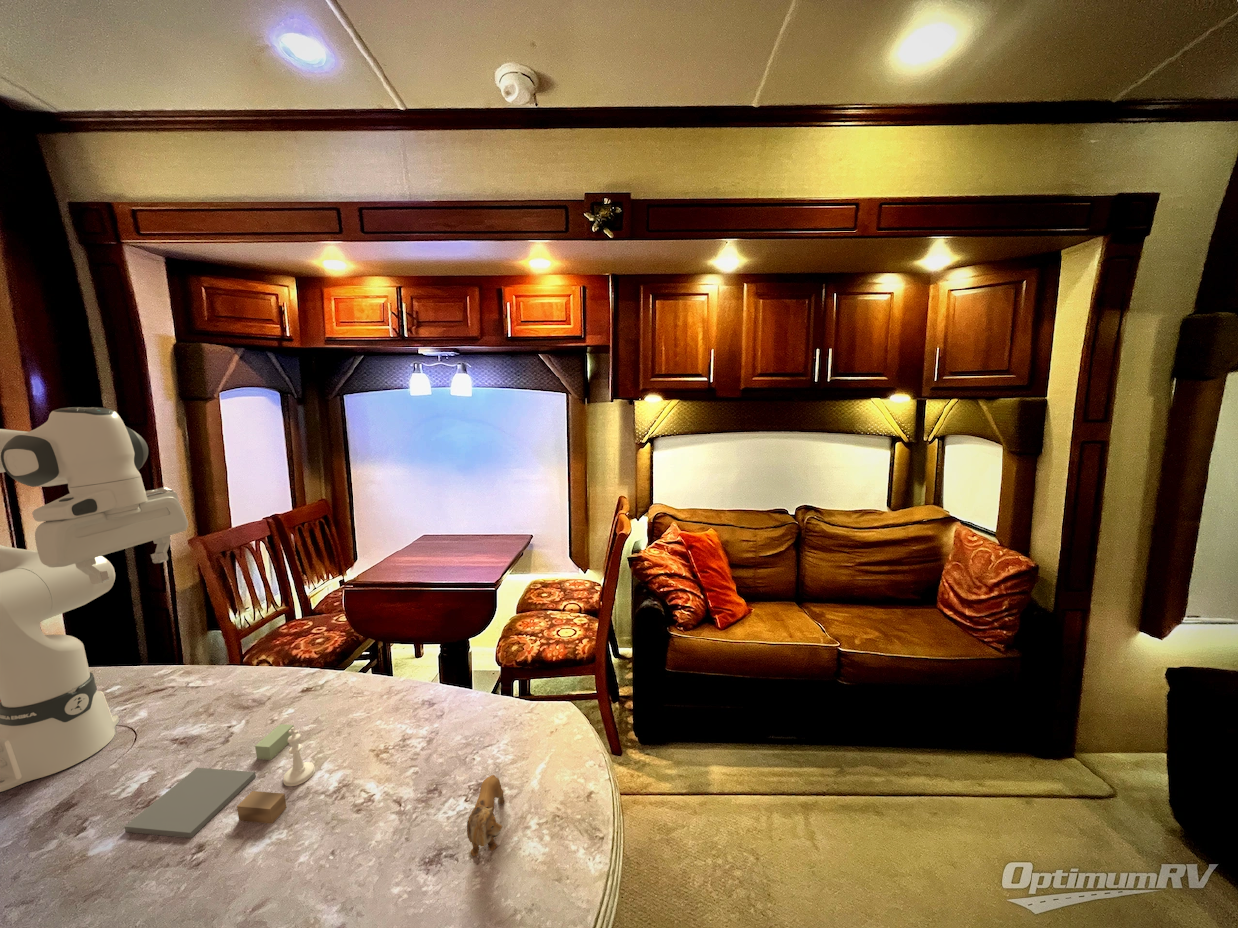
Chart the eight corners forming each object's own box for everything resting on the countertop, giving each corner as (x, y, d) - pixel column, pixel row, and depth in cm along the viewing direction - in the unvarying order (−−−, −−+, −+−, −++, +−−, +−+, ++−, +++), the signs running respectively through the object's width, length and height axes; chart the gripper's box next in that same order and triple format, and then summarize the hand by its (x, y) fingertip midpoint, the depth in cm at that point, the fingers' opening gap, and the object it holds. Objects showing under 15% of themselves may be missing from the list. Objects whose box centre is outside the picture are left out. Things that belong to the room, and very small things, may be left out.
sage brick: (271, 760, 91) (268, 746, 90) (257, 759, 91) (254, 745, 91) (295, 737, 97) (293, 724, 96) (282, 736, 97) (280, 723, 96)
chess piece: (299, 788, 84) (292, 739, 82) (276, 784, 85) (269, 735, 83) (321, 766, 89) (315, 720, 87) (299, 762, 90) (293, 716, 88)
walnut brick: (239, 821, 78) (236, 806, 77) (254, 805, 81) (252, 790, 80) (272, 824, 77) (269, 808, 77) (286, 808, 80) (284, 793, 80)
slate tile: (125, 831, 76) (124, 826, 76) (197, 771, 88) (196, 767, 88) (191, 837, 75) (190, 832, 75) (255, 776, 87) (255, 771, 87)
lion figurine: (504, 871, 69) (501, 819, 68) (467, 880, 68) (462, 828, 67) (505, 789, 83) (502, 745, 82) (474, 795, 82) (471, 750, 81)
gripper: (160, 486, 93) (178, 552, 95) (17, 514, 73) (44, 597, 75) (187, 483, 92) (204, 550, 94) (49, 511, 72) (75, 595, 74)
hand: (132, 571), depth 84 cm, fingers open, 8 cm apart
